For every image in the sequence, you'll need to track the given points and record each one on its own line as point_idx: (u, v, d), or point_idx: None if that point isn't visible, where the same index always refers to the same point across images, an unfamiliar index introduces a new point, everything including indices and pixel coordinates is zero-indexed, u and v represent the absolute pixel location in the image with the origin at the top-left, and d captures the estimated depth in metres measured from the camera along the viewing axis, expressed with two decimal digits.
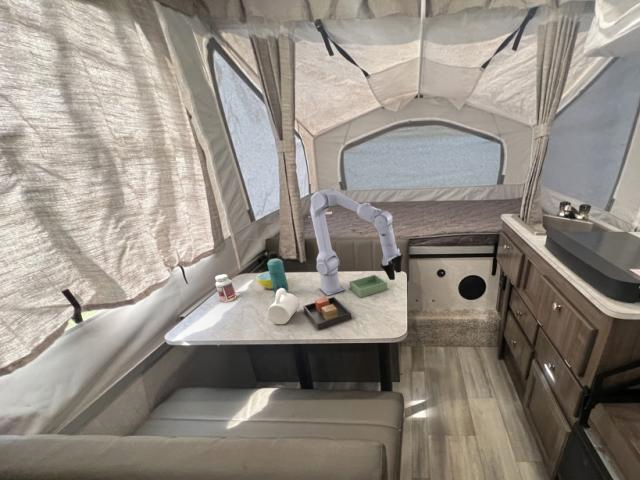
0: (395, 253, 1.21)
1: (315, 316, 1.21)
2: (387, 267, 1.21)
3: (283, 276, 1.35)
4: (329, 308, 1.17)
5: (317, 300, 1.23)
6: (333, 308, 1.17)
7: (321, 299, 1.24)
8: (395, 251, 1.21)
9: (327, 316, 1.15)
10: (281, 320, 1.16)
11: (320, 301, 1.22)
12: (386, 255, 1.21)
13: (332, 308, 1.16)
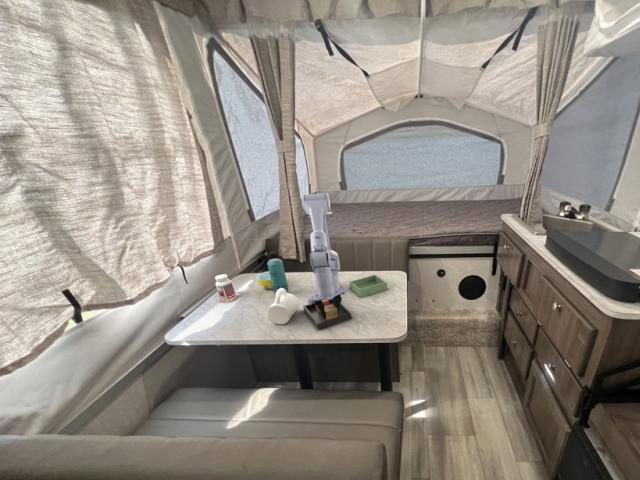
0: (325, 296, 1.11)
1: (315, 316, 1.21)
2: None
3: (283, 276, 1.35)
4: (329, 308, 1.17)
5: None
6: (333, 307, 1.17)
7: None
8: (326, 294, 1.11)
9: (327, 316, 1.15)
10: (281, 320, 1.16)
11: None
12: (318, 294, 1.13)
13: (332, 308, 1.16)
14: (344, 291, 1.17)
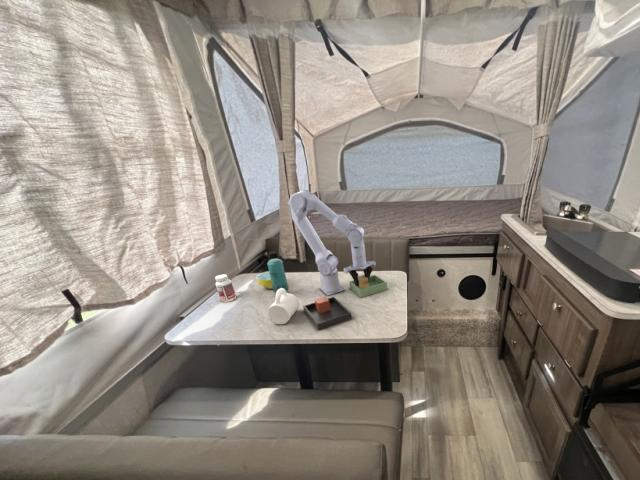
0: (359, 266, 1.32)
1: (315, 316, 1.21)
2: None
3: (283, 276, 1.35)
4: (361, 277, 1.37)
5: (317, 300, 1.23)
6: (365, 277, 1.37)
7: (321, 299, 1.24)
8: (360, 264, 1.31)
9: (360, 284, 1.36)
10: (281, 320, 1.16)
11: (320, 301, 1.22)
12: (353, 264, 1.33)
13: (364, 277, 1.37)
14: (374, 263, 1.37)
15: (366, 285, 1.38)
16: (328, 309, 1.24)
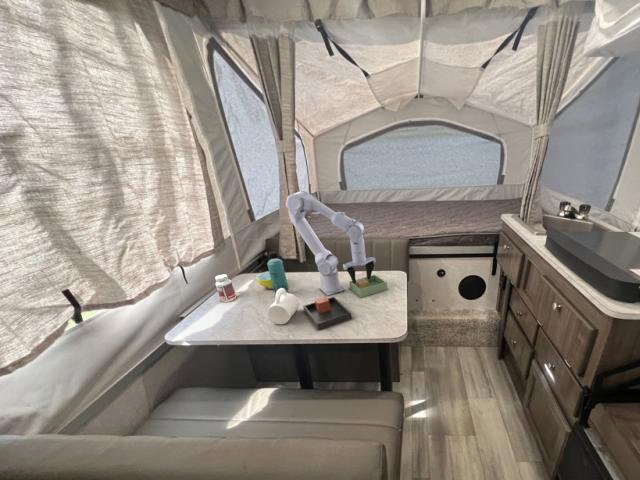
0: (359, 262, 1.31)
1: (315, 316, 1.21)
2: None
3: (283, 276, 1.35)
4: (362, 281, 1.37)
5: (317, 300, 1.23)
6: (365, 280, 1.38)
7: (321, 299, 1.24)
8: (359, 260, 1.31)
9: (360, 287, 1.36)
10: (281, 320, 1.16)
11: (320, 301, 1.22)
12: (352, 261, 1.33)
13: (364, 281, 1.37)
14: (374, 259, 1.36)
15: None
16: (328, 309, 1.24)
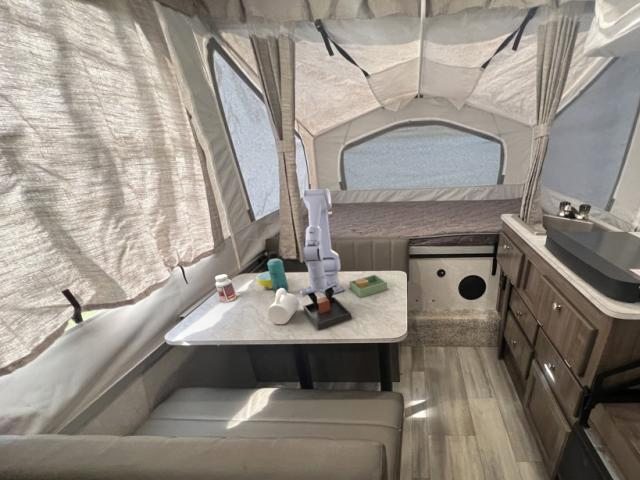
0: (318, 288, 1.18)
1: (315, 316, 1.21)
2: None
3: (283, 276, 1.35)
4: (362, 281, 1.37)
5: (317, 300, 1.23)
6: (365, 280, 1.38)
7: (321, 299, 1.24)
8: (318, 286, 1.17)
9: (360, 287, 1.36)
10: (281, 320, 1.16)
11: (320, 301, 1.22)
12: (311, 286, 1.19)
13: (364, 281, 1.37)
14: (336, 284, 1.23)
15: None
16: (328, 309, 1.24)
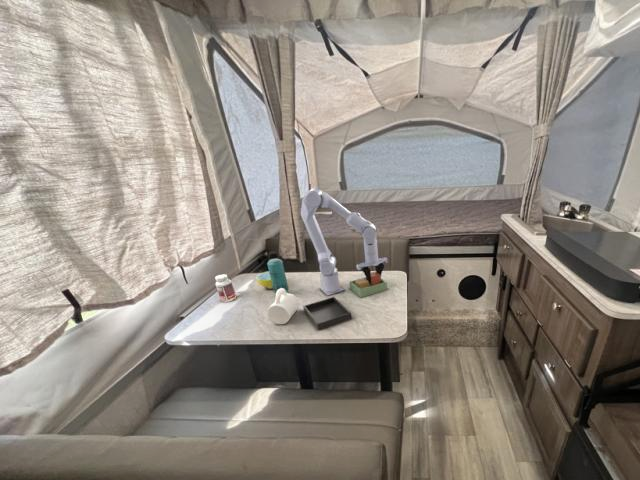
0: (372, 262, 1.34)
1: (315, 316, 1.21)
2: None
3: (283, 276, 1.35)
4: (362, 281, 1.37)
5: None
6: (365, 280, 1.38)
7: (373, 273, 1.40)
8: (372, 261, 1.34)
9: (360, 287, 1.36)
10: (281, 320, 1.16)
11: (372, 274, 1.39)
12: (365, 261, 1.36)
13: (364, 281, 1.37)
14: (386, 260, 1.40)
15: None
16: (379, 282, 1.40)
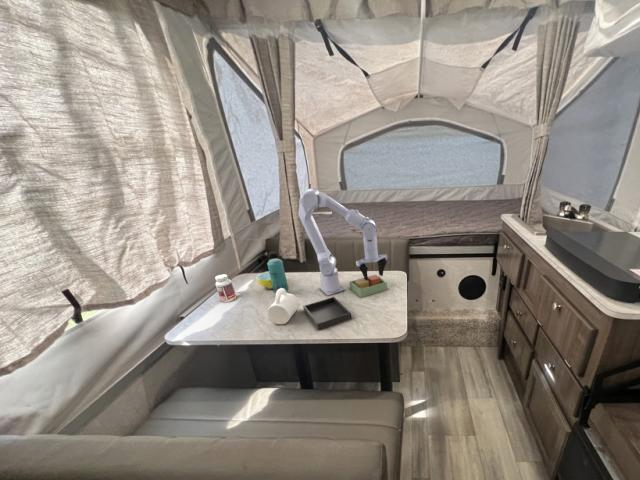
0: (372, 259, 1.34)
1: (315, 316, 1.21)
2: None
3: (283, 276, 1.35)
4: (362, 281, 1.37)
5: (370, 277, 1.40)
6: (365, 280, 1.38)
7: (373, 277, 1.41)
8: (372, 257, 1.33)
9: (360, 287, 1.36)
10: (281, 320, 1.16)
11: (372, 278, 1.40)
12: (365, 257, 1.35)
13: (364, 281, 1.37)
14: (385, 256, 1.39)
15: None
16: None
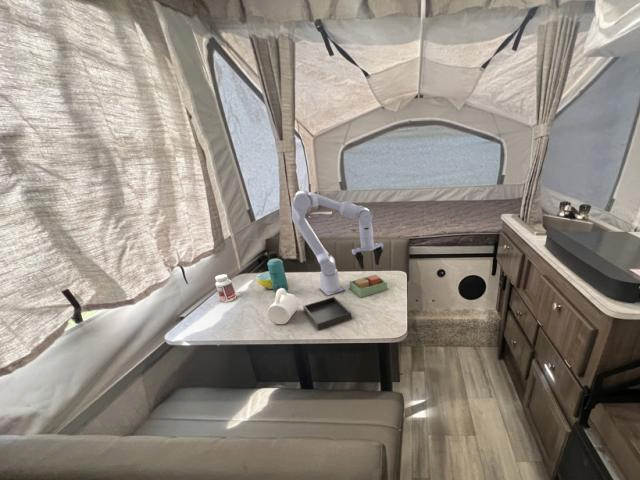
0: (367, 247, 1.34)
1: (315, 316, 1.21)
2: None
3: (283, 276, 1.35)
4: (362, 281, 1.37)
5: (370, 277, 1.40)
6: (365, 280, 1.38)
7: (373, 277, 1.41)
8: (368, 245, 1.34)
9: (360, 287, 1.36)
10: (281, 320, 1.16)
11: (372, 278, 1.40)
12: (361, 246, 1.36)
13: (364, 281, 1.37)
14: (381, 245, 1.39)
15: None
16: None
